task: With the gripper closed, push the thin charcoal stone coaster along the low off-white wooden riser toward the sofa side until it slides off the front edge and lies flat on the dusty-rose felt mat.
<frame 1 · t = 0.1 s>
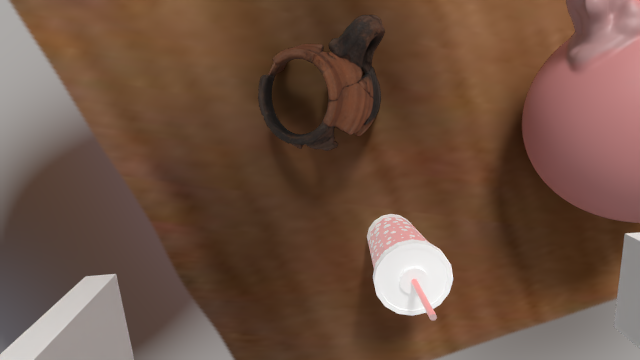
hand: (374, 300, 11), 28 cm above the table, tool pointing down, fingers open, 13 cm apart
pottery mug: (330, 83, 37), on the table
balloon: (563, 86, 38), on the table
beverage cup: (390, 235, 41), on the table
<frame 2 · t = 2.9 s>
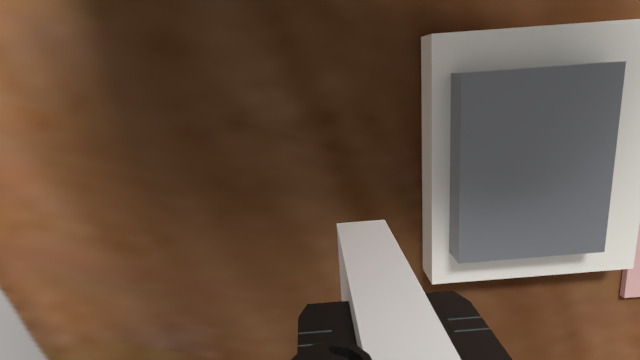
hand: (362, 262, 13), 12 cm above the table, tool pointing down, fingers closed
riser: (522, 153, 25), on the table
coaster: (522, 162, 23), point 2 cm above the table, touching riser
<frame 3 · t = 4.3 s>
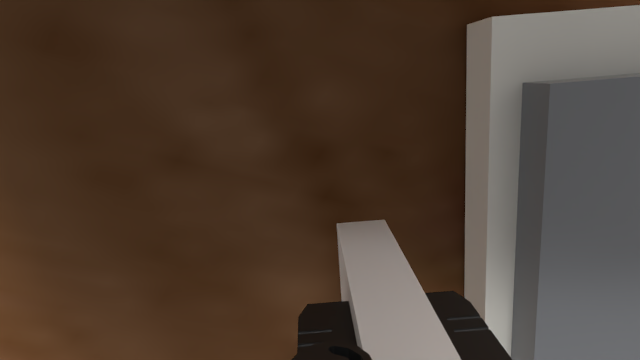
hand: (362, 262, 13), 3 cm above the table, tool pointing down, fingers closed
riser: (618, 203, 16), on the table
coaster: (632, 223, 14), point 2 cm above the table, touching riser
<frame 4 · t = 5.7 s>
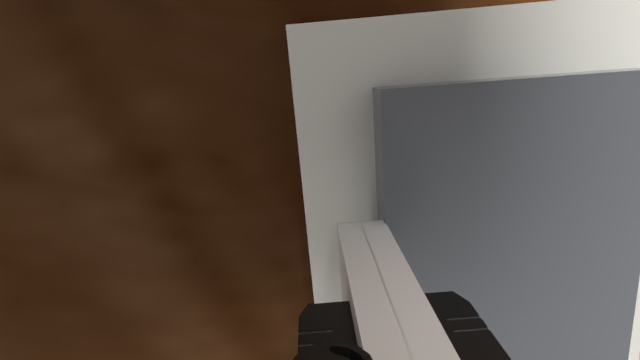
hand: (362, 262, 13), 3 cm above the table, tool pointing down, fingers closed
riser: (462, 207, 16), on the table
coaster: (494, 228, 14), point 2 cm above the table, touching gripper
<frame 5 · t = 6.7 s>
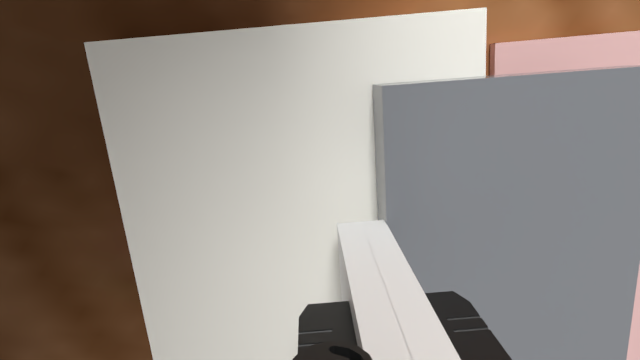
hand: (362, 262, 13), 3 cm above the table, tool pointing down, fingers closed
riser: (307, 222, 16), on the table
felt mat: (634, 239, 17), on the table
coaster: (494, 225, 14), point 2 cm above the table, touching gripper
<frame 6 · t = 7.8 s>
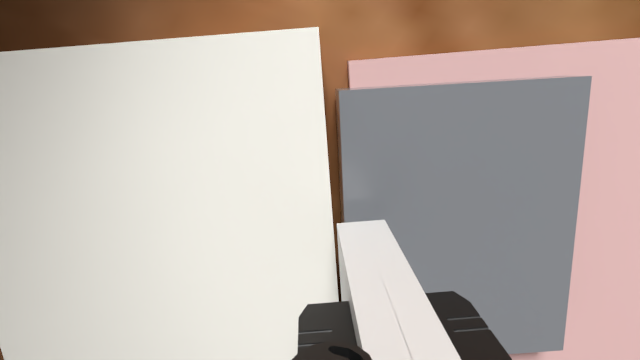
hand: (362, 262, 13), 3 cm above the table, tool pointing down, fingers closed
riser: (175, 237, 16), on the table
felt mat: (508, 256, 17), on the table
coaster: (446, 217, 16), resting on felt mat
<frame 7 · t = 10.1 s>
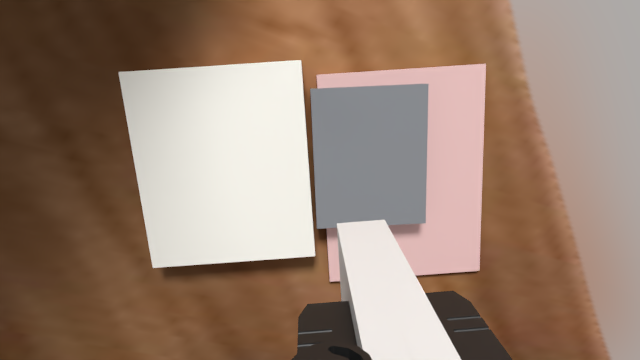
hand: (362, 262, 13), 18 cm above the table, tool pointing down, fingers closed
riser: (228, 164, 31), on the table
felt mat: (402, 177, 31), on the table
coaster: (367, 155, 31), resting on felt mat
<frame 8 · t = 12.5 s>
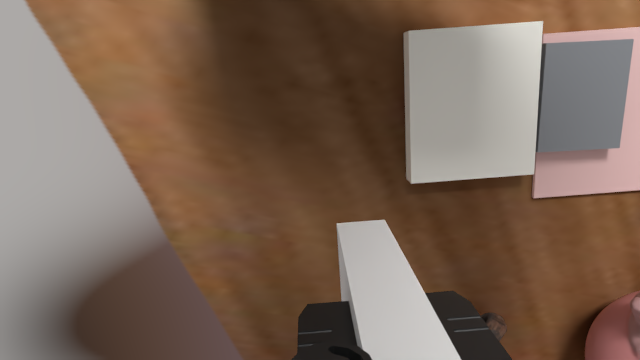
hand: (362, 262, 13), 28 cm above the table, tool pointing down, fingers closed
pottery mug: (451, 335, 47), on the table
balloon: (613, 307, 47), on the table
riser: (466, 104, 40), on the table
felt mat: (596, 115, 41), on the table
coaster: (574, 96, 40), resting on felt mat
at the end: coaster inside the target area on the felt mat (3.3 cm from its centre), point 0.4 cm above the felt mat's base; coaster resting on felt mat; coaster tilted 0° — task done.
